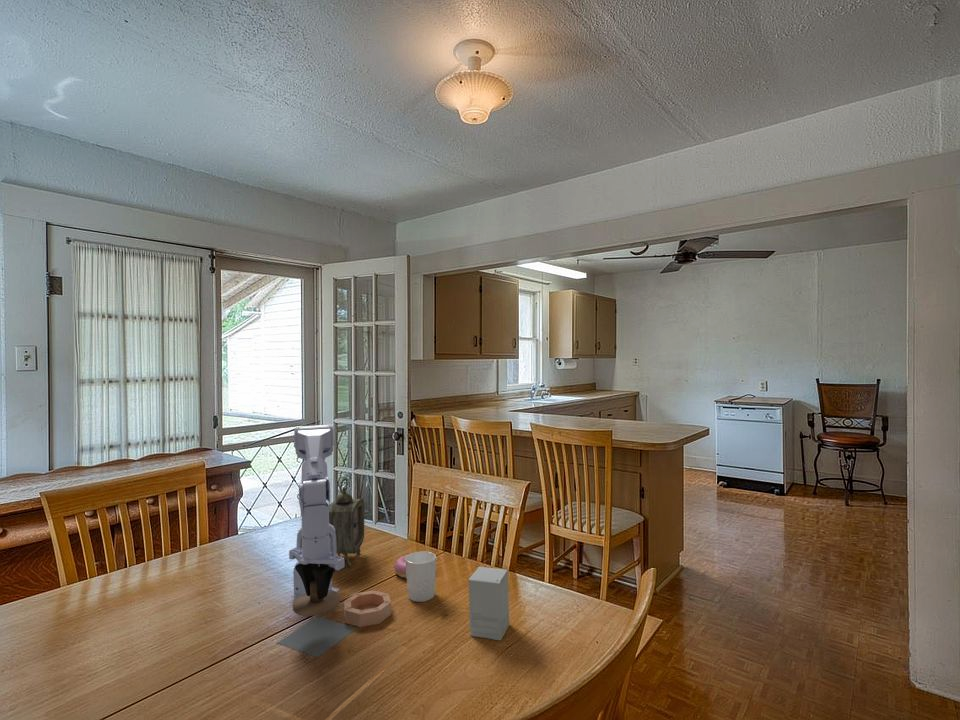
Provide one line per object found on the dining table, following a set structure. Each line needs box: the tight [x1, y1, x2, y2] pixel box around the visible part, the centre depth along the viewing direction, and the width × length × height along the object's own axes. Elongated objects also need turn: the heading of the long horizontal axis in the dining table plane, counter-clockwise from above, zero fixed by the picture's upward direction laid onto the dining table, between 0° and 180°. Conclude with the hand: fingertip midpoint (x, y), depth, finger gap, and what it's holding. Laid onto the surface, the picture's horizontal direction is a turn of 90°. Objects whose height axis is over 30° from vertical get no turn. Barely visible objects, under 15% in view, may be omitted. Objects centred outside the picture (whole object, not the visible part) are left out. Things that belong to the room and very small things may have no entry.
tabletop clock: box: [328, 477, 365, 568], centre depth 153 cm, size 14×9×25 cm, turn 179°
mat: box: [276, 616, 358, 658], centre depth 111 cm, size 12×12×1 cm
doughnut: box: [393, 553, 410, 579], centre depth 144 cm, size 11×11×4 cm
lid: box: [292, 580, 341, 617], centre depth 110 cm, size 10×10×5 cm
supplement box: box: [468, 566, 510, 642], centre depth 112 cm, size 7×7×13 cm
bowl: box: [343, 590, 392, 628], centre depth 119 cm, size 11×11×4 cm
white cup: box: [405, 550, 437, 603], centre depth 129 cm, size 8×8×10 cm
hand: (317, 595), depth 110 cm, fingers closed on lid, 3 cm apart
